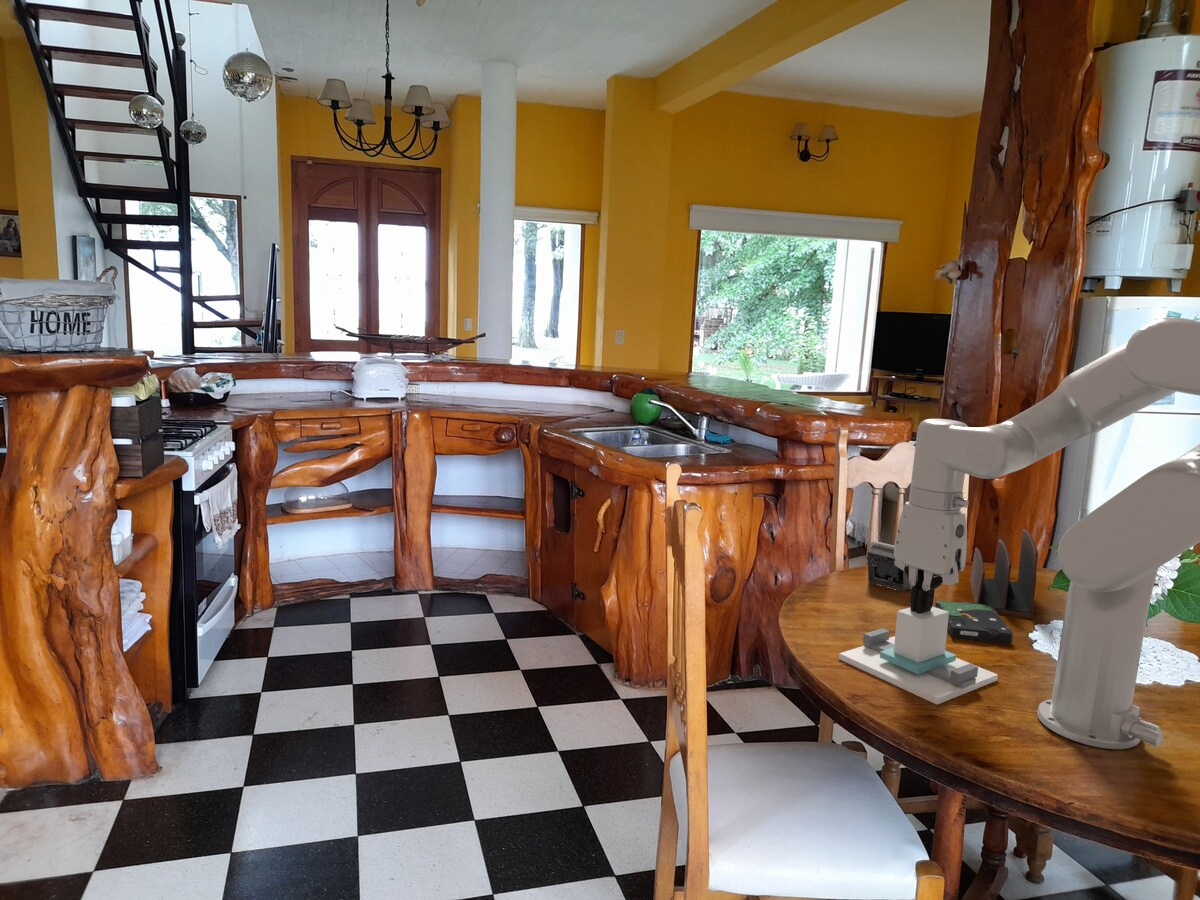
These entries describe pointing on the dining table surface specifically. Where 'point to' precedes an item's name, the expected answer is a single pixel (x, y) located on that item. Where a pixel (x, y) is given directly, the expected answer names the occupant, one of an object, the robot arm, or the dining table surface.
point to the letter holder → (1007, 580)
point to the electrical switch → (885, 567)
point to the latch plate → (916, 666)
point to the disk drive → (975, 622)
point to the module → (921, 634)
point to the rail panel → (927, 685)
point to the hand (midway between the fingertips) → (920, 610)
